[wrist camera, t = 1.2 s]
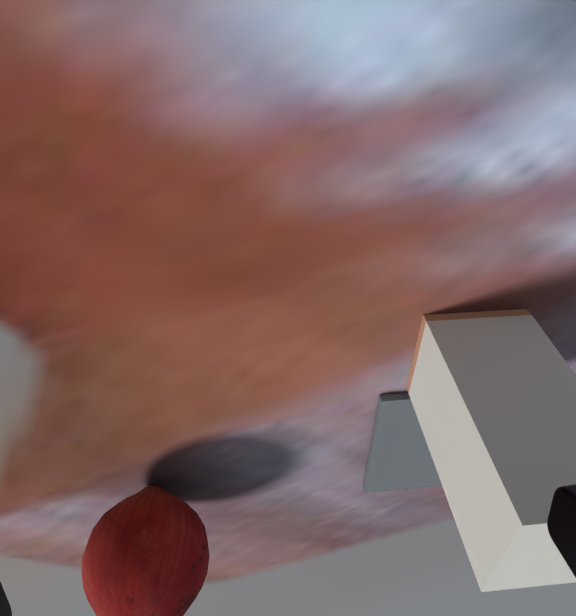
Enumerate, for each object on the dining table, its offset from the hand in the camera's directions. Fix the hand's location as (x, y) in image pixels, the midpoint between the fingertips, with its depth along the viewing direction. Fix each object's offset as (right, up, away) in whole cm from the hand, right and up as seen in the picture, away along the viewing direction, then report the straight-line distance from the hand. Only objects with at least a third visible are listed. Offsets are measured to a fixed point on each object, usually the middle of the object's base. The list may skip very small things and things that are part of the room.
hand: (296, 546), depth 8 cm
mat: (+8, -3, +18) cm, 20 cm away
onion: (-7, -6, +19) cm, 21 cm away
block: (+8, +2, +14) cm, 16 cm away
